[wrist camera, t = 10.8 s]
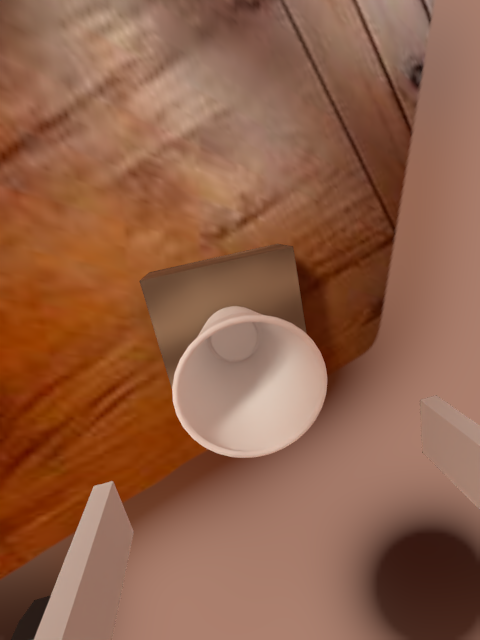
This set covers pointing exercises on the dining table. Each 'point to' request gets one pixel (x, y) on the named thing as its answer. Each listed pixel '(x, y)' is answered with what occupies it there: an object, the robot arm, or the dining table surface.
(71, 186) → the dining table surface
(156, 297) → the walnut block
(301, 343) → the cup
